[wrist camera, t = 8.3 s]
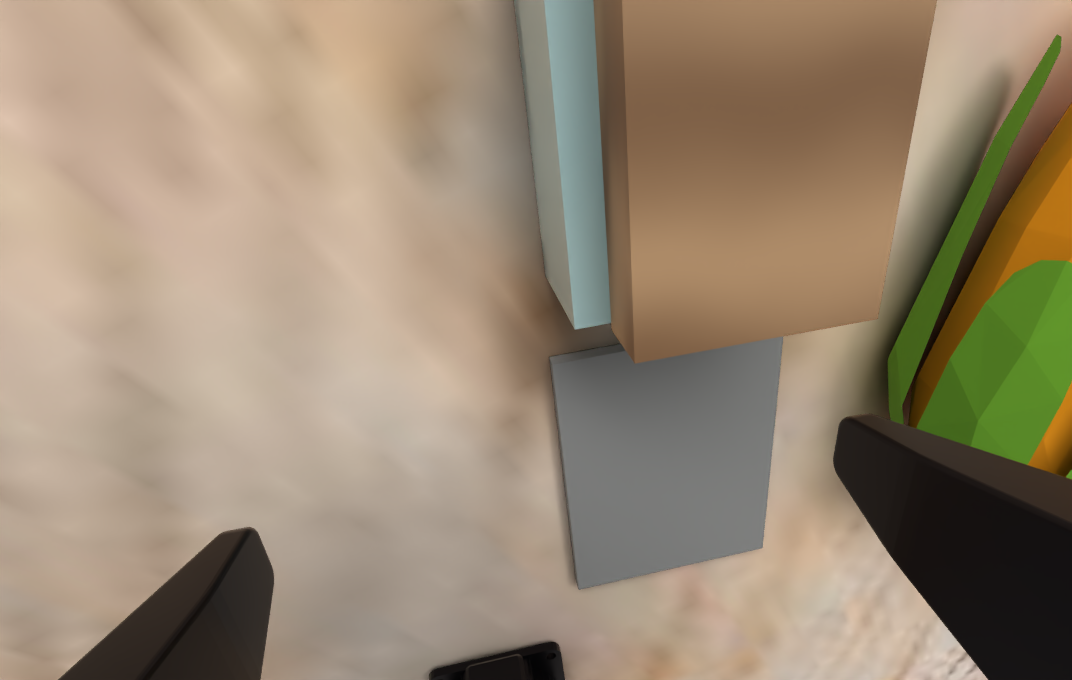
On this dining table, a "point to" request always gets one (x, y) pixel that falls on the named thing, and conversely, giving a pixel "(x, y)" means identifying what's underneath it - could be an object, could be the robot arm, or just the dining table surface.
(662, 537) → the mat
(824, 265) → the board
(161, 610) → the robot arm
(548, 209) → the dish
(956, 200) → the dining table surface
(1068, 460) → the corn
